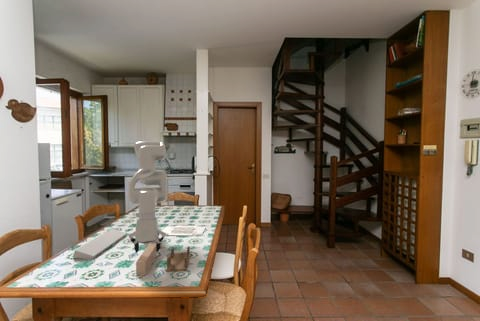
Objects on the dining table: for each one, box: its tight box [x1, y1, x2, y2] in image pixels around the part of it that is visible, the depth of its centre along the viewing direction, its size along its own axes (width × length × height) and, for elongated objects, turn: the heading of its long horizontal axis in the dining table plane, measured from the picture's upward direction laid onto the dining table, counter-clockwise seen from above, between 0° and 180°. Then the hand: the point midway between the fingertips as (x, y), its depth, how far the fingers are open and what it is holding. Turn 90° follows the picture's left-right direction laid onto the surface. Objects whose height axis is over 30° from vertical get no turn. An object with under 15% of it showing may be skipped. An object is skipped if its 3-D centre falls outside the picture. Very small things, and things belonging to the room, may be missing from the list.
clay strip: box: [135, 242, 158, 276], centre depth 122 cm, size 4×22×6 cm, turn 5°
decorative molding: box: [72, 228, 127, 260], centre depth 144 cm, size 34×5×10 cm
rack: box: [165, 246, 191, 272], centre depth 124 cm, size 9×18×5 cm, turn 6°
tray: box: [161, 222, 206, 237], centre depth 171 cm, size 20×28×4 cm
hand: (147, 251), depth 121 cm, fingers open, 9 cm apart
